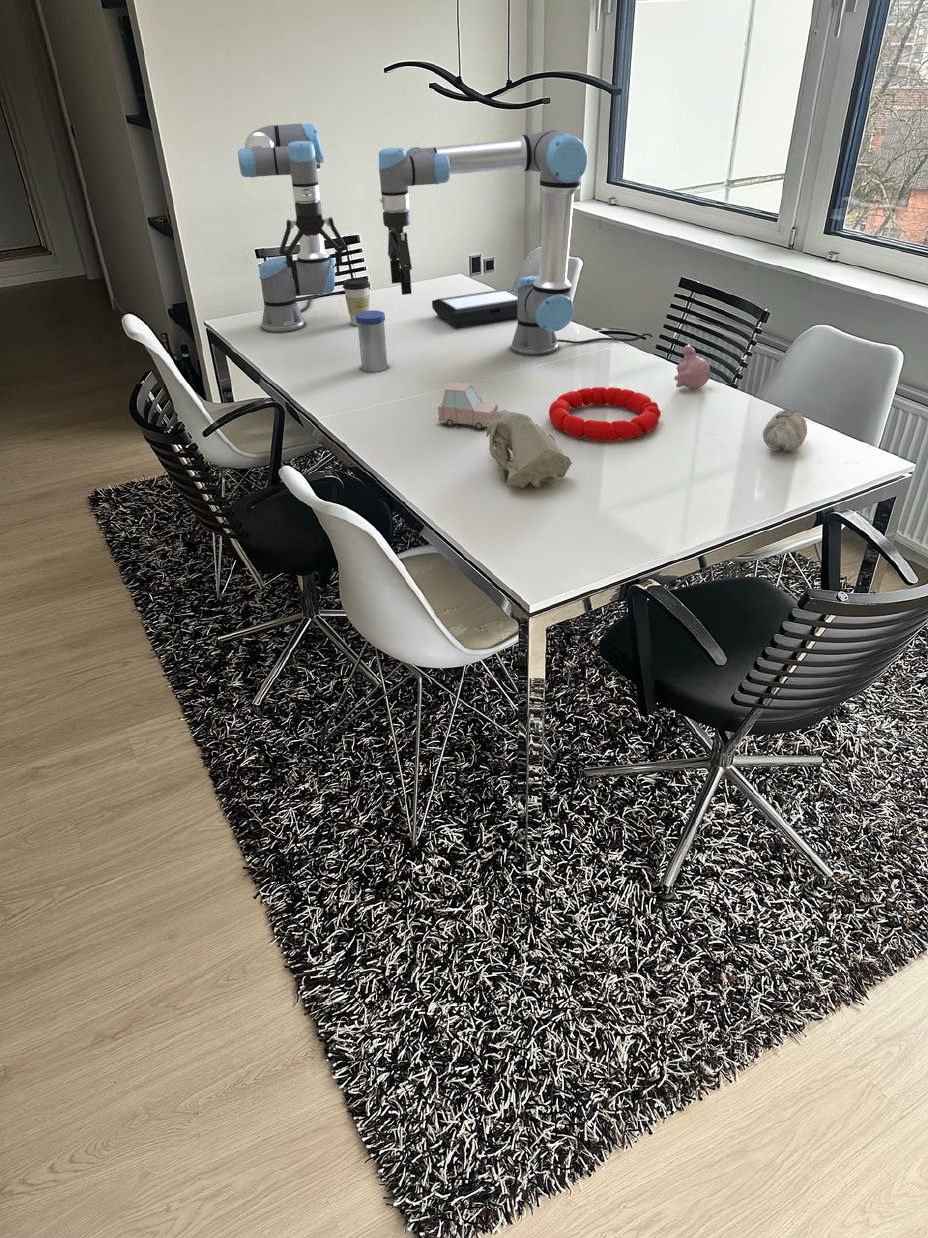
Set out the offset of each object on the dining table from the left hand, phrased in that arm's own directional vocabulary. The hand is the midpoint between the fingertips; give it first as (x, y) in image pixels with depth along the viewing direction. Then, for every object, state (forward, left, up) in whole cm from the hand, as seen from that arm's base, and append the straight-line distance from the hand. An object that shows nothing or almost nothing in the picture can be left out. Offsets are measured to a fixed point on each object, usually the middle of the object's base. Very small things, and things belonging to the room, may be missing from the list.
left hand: (316, 276), depth 273 cm
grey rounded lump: (+95, +111, -28) cm, 148 cm away
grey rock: (+91, +43, -28) cm, 105 cm away
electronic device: (-41, +60, -28) cm, 78 cm away
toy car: (+58, +36, -28) cm, 74 cm away
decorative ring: (+67, +72, -28) cm, 102 cm away
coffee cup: (-45, +14, -28) cm, 55 cm away
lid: (+5, +15, -12) cm, 20 cm away
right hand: (+17, +24, -1) cm, 30 cm away
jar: (+5, +15, -28) cm, 32 cm away
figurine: (+48, +104, -28) cm, 118 cm away
